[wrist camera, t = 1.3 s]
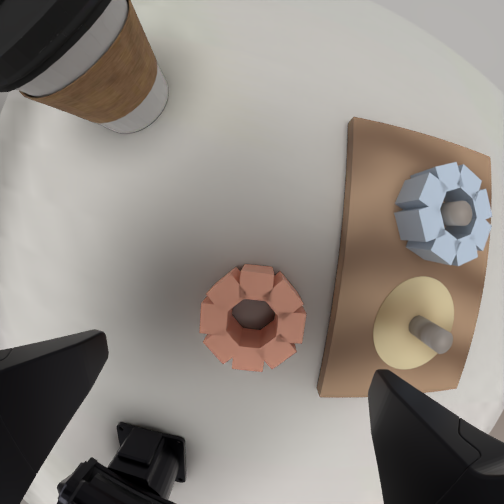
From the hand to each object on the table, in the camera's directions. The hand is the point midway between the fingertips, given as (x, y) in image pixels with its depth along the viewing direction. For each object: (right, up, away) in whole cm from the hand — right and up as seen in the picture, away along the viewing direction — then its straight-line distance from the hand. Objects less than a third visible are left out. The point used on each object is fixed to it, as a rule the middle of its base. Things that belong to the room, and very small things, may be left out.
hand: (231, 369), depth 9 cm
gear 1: (+1, 0, +12) cm, 12 cm away
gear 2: (+13, +6, +10) cm, 18 cm away
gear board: (+13, +2, +11) cm, 18 cm away
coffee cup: (-9, +16, +11) cm, 21 cm away
